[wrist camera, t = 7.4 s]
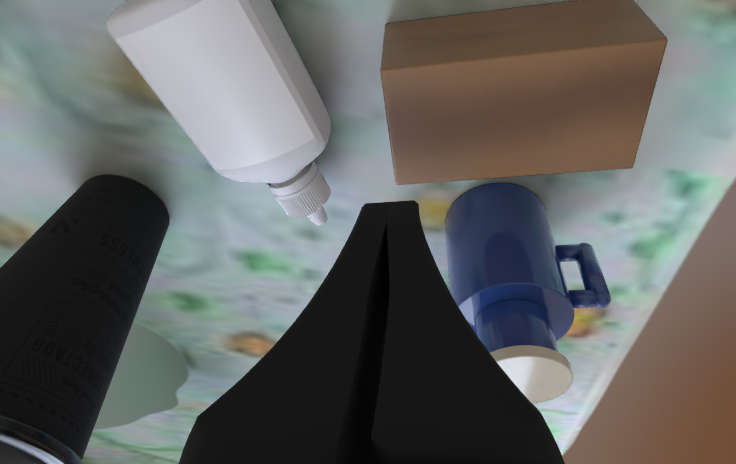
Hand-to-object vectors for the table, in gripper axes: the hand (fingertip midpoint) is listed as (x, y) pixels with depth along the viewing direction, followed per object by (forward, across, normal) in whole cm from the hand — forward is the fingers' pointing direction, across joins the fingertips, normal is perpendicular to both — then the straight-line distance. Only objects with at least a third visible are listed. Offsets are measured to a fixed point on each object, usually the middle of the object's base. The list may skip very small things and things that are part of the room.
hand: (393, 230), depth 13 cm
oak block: (+10, -4, +1) cm, 11 cm away
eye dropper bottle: (+9, +8, -4) cm, 12 cm away
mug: (+10, -5, +6) cm, 13 cm away
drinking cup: (+11, +16, +7) cm, 20 cm away
